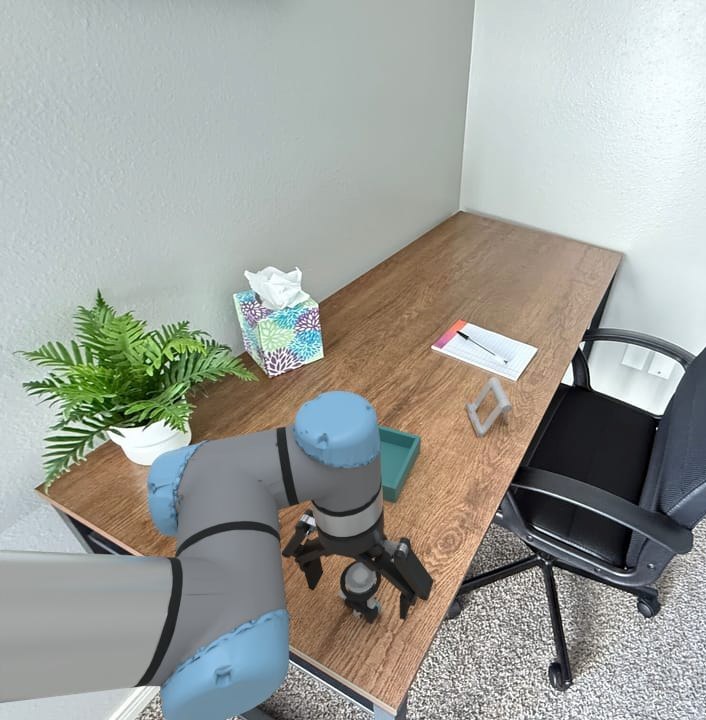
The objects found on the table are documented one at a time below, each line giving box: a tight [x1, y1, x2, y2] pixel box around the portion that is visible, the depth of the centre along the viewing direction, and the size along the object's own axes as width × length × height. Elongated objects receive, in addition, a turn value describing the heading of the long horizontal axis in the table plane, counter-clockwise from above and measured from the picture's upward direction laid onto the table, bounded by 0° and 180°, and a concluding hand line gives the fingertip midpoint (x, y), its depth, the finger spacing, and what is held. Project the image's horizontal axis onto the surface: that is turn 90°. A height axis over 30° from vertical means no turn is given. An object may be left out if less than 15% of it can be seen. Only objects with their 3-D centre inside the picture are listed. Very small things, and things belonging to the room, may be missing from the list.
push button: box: [338, 560, 382, 625], centre depth 64 cm, size 7×5×10 cm
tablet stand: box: [464, 376, 513, 438], centre depth 97 cm, size 9×8×8 cm
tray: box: [378, 424, 422, 504], centre depth 86 cm, size 19×13×4 cm
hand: (360, 595), depth 65 cm, fingers open, 13 cm apart
